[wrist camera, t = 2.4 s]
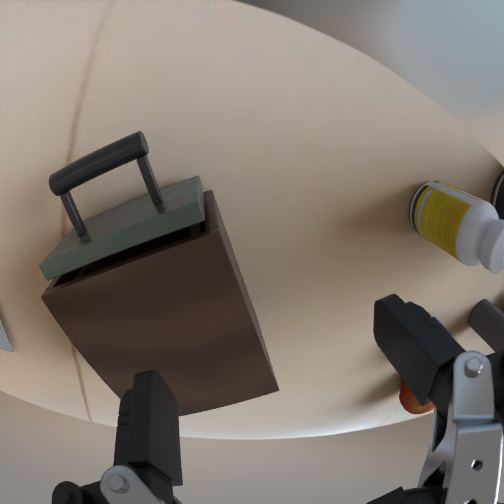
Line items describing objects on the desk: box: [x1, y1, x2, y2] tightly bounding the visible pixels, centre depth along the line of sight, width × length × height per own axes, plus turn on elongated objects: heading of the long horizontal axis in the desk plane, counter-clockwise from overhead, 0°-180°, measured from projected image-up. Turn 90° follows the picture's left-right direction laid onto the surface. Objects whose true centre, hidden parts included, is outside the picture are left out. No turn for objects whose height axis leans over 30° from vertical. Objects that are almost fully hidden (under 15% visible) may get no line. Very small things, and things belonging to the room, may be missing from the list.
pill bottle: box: [410, 181, 504, 273], centre depth 23 cm, size 6×6×12 cm
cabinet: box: [41, 190, 279, 416], centre depth 23 cm, size 15×13×10 cm
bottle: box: [468, 299, 504, 352], centre depth 33 cm, size 6×6×15 cm
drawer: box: [39, 131, 205, 281], centre depth 21 cm, size 18×11×8 cm, turn 16°
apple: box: [399, 382, 435, 414], centre depth 39 cm, size 8×8×8 cm
